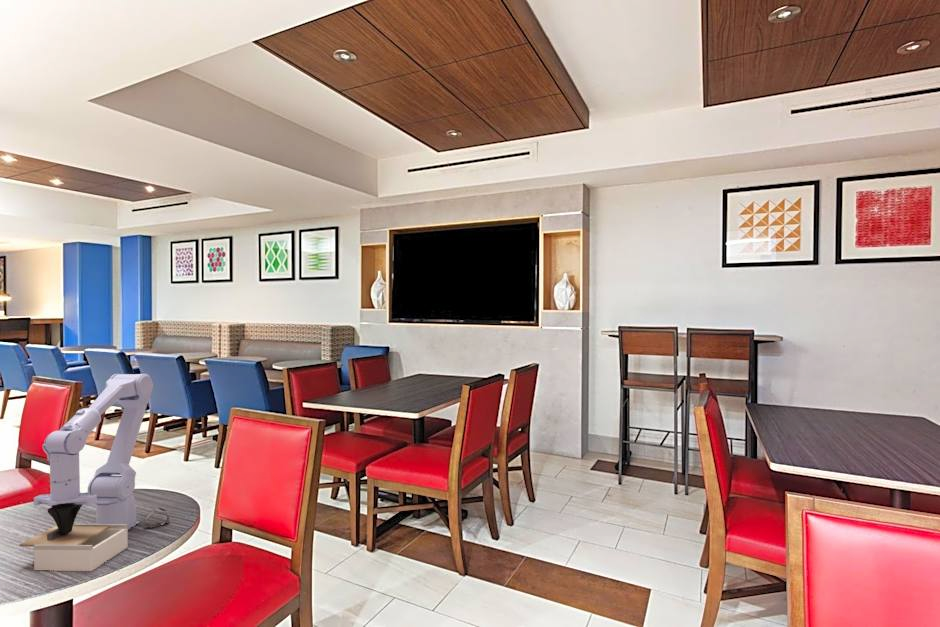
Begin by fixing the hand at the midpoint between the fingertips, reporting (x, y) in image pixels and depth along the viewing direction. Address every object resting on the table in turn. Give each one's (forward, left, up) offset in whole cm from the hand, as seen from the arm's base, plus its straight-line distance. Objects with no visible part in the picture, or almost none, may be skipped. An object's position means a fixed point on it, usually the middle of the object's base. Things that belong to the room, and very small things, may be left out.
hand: (66, 533), depth 125 cm
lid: (0, 0, -1) cm, 1 cm away
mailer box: (0, +4, -6) cm, 8 cm away
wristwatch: (-19, +10, -7) cm, 23 cm away
